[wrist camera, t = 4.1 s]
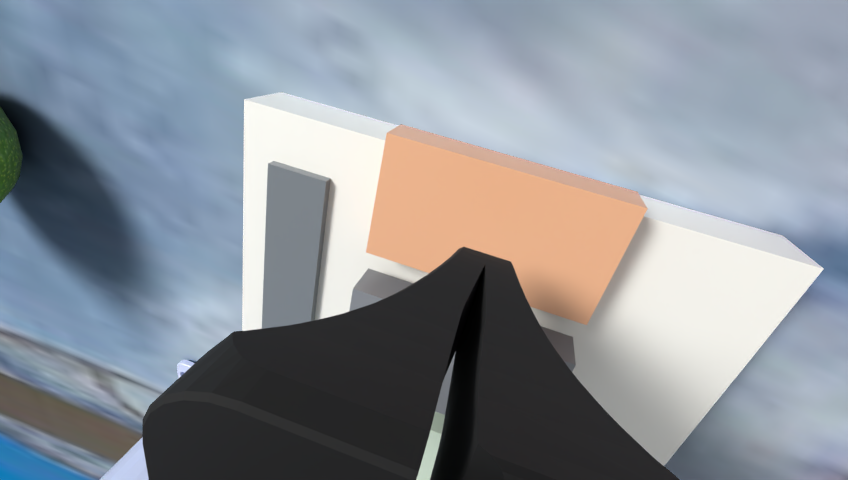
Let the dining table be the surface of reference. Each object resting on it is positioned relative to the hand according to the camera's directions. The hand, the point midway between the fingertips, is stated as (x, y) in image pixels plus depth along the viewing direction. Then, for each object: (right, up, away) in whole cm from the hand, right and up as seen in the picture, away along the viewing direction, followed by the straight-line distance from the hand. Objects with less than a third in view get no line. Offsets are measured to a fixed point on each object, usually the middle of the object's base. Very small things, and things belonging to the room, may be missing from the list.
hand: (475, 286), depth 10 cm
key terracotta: (+1, +2, +4) cm, 5 cm away
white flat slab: (+1, -2, +9) cm, 9 cm away
